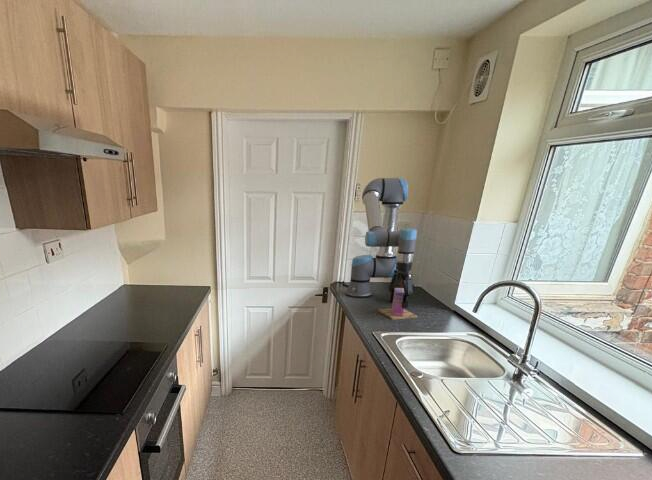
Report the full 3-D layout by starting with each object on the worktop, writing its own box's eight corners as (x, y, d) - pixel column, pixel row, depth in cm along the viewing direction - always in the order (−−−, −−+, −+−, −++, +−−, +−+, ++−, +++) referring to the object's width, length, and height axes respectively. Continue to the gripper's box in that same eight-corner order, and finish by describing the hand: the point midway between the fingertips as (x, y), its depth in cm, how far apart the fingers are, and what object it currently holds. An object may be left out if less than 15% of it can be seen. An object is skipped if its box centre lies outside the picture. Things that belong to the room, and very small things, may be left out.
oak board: (377, 311, 224) (378, 309, 224) (401, 309, 227) (401, 307, 226) (392, 319, 210) (392, 317, 210) (417, 317, 213) (417, 316, 212)
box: (403, 315, 213) (406, 292, 208) (391, 314, 214) (394, 292, 209) (402, 310, 222) (406, 288, 216) (391, 309, 223) (394, 287, 218)
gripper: (424, 265, 197) (417, 310, 206) (399, 257, 218) (393, 298, 227) (410, 266, 195) (403, 311, 205) (386, 258, 216) (381, 299, 226)
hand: (398, 304), depth 216 cm, fingers closed on box, 12 cm apart
